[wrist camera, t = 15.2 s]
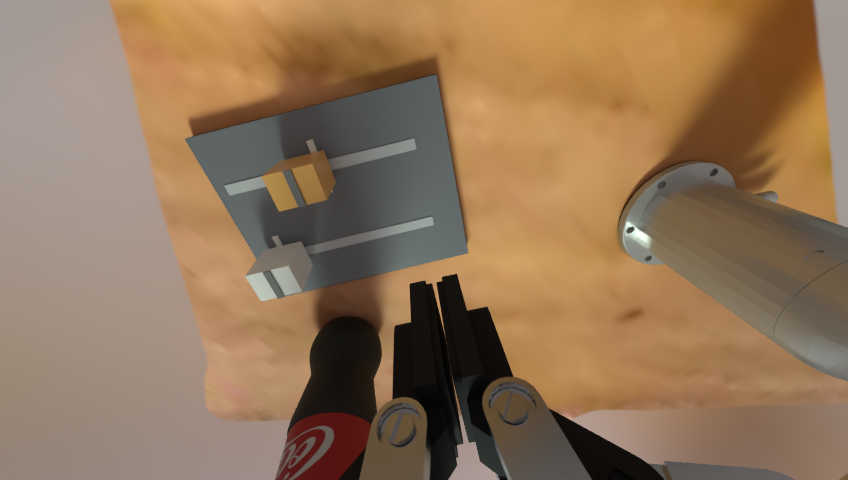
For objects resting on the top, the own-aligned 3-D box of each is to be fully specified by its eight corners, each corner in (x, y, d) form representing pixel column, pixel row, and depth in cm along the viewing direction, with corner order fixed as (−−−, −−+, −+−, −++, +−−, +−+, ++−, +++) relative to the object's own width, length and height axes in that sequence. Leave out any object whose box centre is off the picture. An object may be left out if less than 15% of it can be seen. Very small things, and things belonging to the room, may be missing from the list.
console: (435, 74, 26) (436, 74, 25) (465, 247, 35) (468, 253, 34) (192, 136, 27) (183, 139, 26) (283, 291, 36) (279, 298, 35)
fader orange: (323, 149, 27) (311, 164, 23) (336, 181, 28) (326, 200, 24) (280, 160, 27) (260, 177, 23) (294, 192, 28) (278, 212, 24)
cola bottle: (307, 316, 38) (121, 852, 12) (374, 304, 38) (333, 813, 12) (328, 361, 42) (224, 831, 16) (388, 350, 42) (381, 802, 16)
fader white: (301, 240, 31) (287, 267, 27) (313, 264, 32) (301, 293, 28) (263, 250, 31) (244, 277, 27) (277, 273, 33) (260, 302, 29)
